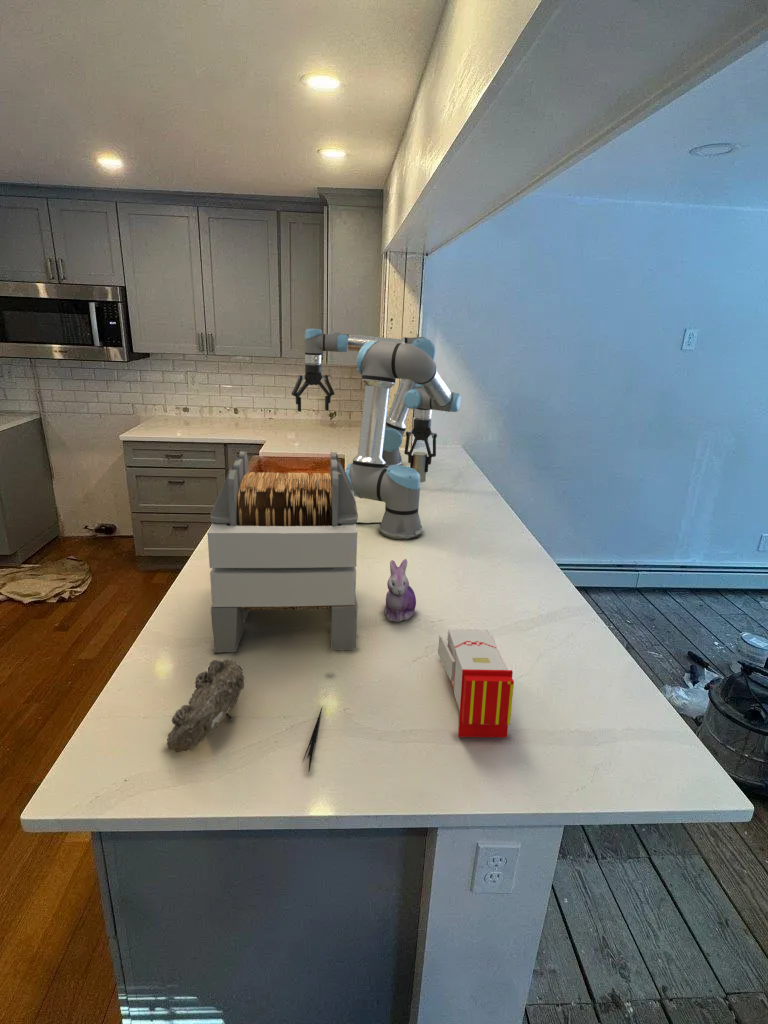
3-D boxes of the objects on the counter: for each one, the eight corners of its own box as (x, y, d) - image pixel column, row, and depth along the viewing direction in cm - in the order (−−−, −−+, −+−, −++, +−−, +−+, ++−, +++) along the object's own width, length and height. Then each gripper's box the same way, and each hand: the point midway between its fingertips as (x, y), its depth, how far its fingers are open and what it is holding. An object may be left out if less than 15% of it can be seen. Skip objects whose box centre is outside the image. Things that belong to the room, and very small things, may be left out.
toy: (488, 613, 130) (523, 677, 101) (484, 667, 133) (517, 744, 104) (435, 612, 130) (455, 676, 101) (432, 666, 133) (451, 743, 103)
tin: (411, 481, 248) (412, 454, 244) (411, 478, 254) (413, 451, 250) (425, 482, 248) (427, 455, 243) (425, 479, 253) (427, 452, 249)
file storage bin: (232, 584, 158) (225, 442, 144) (349, 583, 162) (353, 444, 148) (211, 655, 127) (198, 480, 113) (357, 651, 130) (362, 482, 117)
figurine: (392, 627, 141) (395, 572, 136) (374, 608, 149) (376, 556, 144) (425, 619, 145) (429, 566, 140) (405, 601, 154) (408, 550, 149)
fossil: (192, 660, 117) (244, 628, 112) (224, 691, 120) (276, 661, 115) (142, 746, 98) (202, 712, 93) (182, 779, 101) (242, 748, 96)
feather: (331, 679, 122) (336, 673, 122) (307, 777, 96) (313, 769, 95) (324, 675, 122) (329, 669, 121) (298, 772, 95) (304, 764, 95)
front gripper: (445, 418, 244) (441, 470, 251) (401, 415, 246) (398, 466, 254) (444, 421, 237) (440, 475, 244) (399, 418, 239) (396, 471, 247)
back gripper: (289, 365, 250) (290, 413, 257) (341, 364, 261) (340, 411, 268) (284, 363, 256) (285, 410, 264) (335, 363, 267) (335, 408, 274)
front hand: (419, 470), depth 249 cm, fingers closed on tin, 6 cm apart
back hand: (313, 410), depth 266 cm, fingers open, 13 cm apart
